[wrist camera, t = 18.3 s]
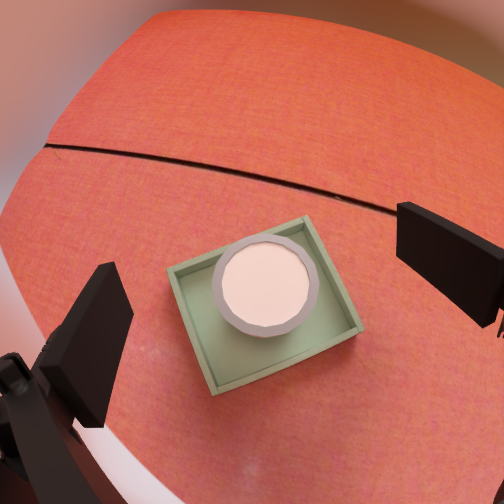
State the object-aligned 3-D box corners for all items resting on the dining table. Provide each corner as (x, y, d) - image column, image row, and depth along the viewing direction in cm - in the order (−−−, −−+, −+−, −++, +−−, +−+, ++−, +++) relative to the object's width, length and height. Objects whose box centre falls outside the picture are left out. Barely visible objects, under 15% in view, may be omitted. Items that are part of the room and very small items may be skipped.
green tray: (215, 394, 24) (212, 396, 22) (172, 276, 28) (165, 268, 26) (357, 333, 25) (365, 329, 23) (304, 225, 29) (307, 214, 27)
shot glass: (317, 326, 25) (337, 311, 19) (240, 357, 24) (233, 353, 18) (285, 255, 28) (293, 218, 21) (211, 283, 27) (197, 253, 20)
